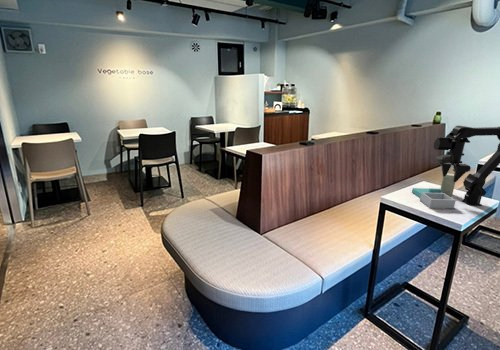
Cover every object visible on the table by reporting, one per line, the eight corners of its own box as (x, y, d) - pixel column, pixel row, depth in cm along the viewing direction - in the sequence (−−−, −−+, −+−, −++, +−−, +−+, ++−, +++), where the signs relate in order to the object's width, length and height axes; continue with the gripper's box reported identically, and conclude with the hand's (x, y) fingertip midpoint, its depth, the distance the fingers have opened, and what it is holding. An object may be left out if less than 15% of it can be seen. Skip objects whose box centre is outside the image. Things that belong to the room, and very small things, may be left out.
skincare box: (452, 194, 167) (457, 174, 163) (451, 196, 163) (456, 176, 160) (439, 191, 170) (444, 172, 167) (438, 193, 167) (443, 173, 163)
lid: (435, 192, 168) (437, 183, 167) (446, 199, 158) (449, 190, 156) (411, 191, 169) (413, 182, 167) (421, 198, 158) (424, 189, 156)
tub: (442, 201, 156) (444, 193, 154) (453, 209, 146) (455, 200, 145) (419, 200, 156) (421, 192, 155) (429, 208, 147) (431, 199, 145)
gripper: (430, 146, 156) (424, 173, 161) (451, 154, 139) (444, 184, 143) (451, 146, 156) (444, 174, 161) (475, 155, 138) (467, 185, 143)
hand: (449, 179), depth 152 cm, fingers open, 9 cm apart
